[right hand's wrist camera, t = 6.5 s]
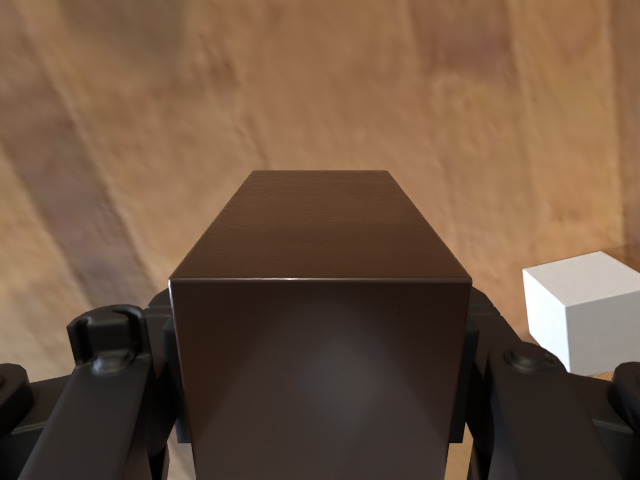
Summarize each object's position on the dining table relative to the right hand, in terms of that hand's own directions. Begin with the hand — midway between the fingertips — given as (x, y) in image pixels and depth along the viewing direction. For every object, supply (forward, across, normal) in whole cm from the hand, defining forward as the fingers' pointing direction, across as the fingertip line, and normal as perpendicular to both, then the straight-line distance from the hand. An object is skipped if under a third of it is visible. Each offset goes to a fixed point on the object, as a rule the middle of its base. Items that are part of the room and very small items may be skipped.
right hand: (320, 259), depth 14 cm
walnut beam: (0, 0, -9) cm, 9 cm away
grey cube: (+12, +16, -7) cm, 21 cm away
